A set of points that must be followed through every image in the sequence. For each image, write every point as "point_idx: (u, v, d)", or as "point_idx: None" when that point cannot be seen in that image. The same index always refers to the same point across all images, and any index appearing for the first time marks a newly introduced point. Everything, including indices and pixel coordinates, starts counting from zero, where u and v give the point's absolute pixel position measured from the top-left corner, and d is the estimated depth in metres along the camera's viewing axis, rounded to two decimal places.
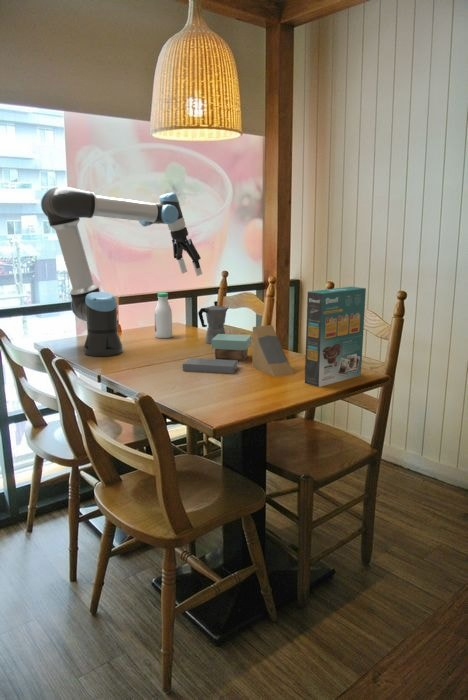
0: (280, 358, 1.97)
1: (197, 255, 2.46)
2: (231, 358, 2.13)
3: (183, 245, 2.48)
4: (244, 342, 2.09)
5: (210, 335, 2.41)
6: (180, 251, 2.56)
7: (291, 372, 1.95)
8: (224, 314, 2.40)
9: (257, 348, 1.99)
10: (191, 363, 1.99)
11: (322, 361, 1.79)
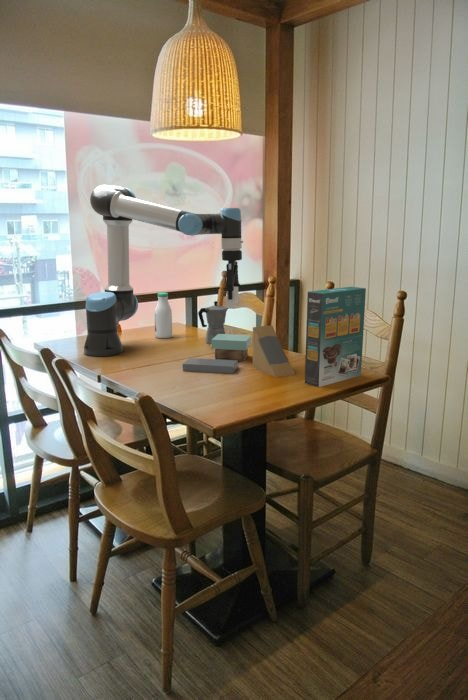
0: (281, 358, 1.96)
1: (230, 284, 2.06)
2: (231, 358, 2.13)
3: None
4: (244, 342, 2.09)
5: (210, 335, 2.41)
6: (234, 277, 2.19)
7: (292, 372, 1.95)
8: (224, 314, 2.40)
9: (258, 348, 1.99)
10: (191, 363, 1.99)
11: (322, 361, 1.79)
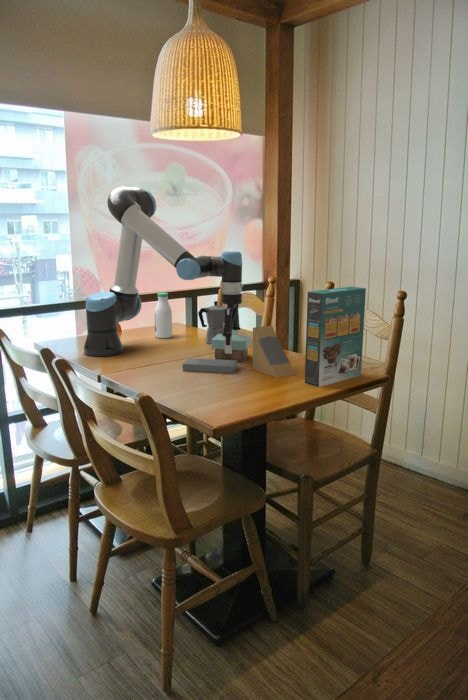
0: (282, 358, 1.96)
1: (227, 330, 2.06)
2: (231, 358, 2.13)
3: None
4: (244, 342, 2.09)
5: (210, 335, 2.41)
6: (234, 320, 2.18)
7: (293, 373, 1.94)
8: (224, 314, 2.40)
9: (258, 349, 1.98)
10: (191, 363, 1.99)
11: (322, 361, 1.79)
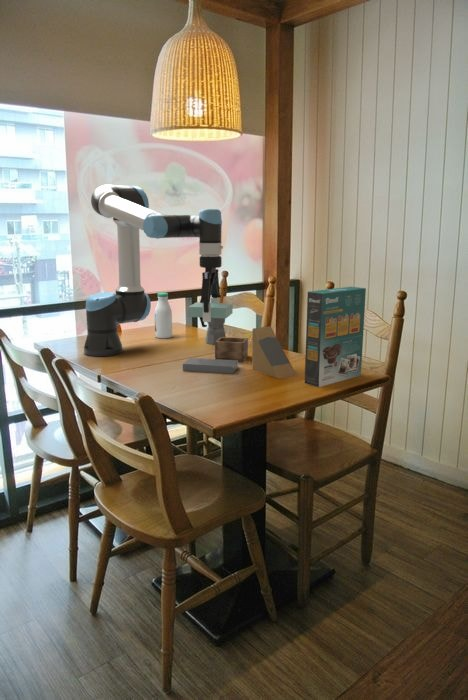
0: (282, 359, 1.95)
1: (205, 296, 1.87)
2: (231, 358, 2.13)
3: None
4: (224, 309, 1.90)
5: (210, 335, 2.41)
6: (213, 286, 1.98)
7: (294, 373, 1.93)
8: None
9: (258, 350, 1.96)
10: (191, 363, 1.99)
11: (322, 361, 1.79)
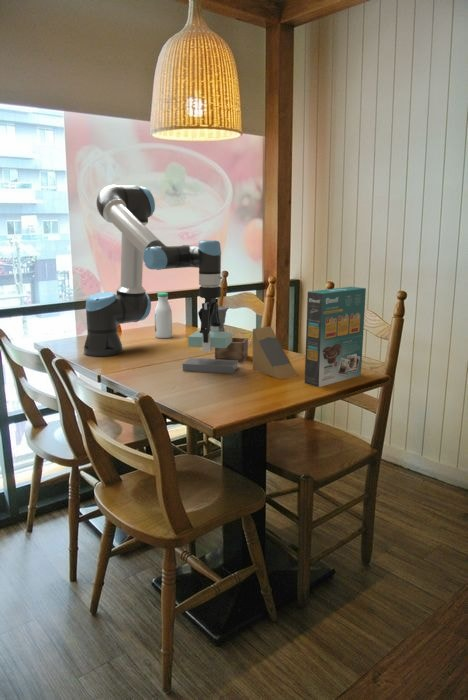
0: (283, 359, 1.95)
1: (205, 326, 1.89)
2: (231, 358, 2.13)
3: None
4: (223, 339, 1.92)
5: None
6: (213, 315, 2.00)
7: (295, 373, 1.93)
8: (224, 314, 2.40)
9: (259, 350, 1.96)
10: (191, 363, 1.99)
11: (322, 361, 1.79)
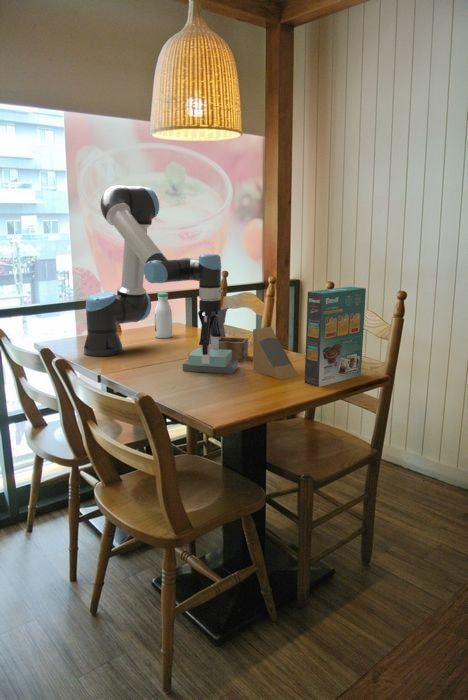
0: (284, 360, 1.94)
1: (204, 338, 1.89)
2: None
3: None
4: (223, 358, 1.93)
5: (210, 335, 2.41)
6: (213, 327, 2.02)
7: (295, 374, 1.93)
8: (224, 314, 2.40)
9: (259, 351, 1.95)
10: None
11: (322, 361, 1.79)
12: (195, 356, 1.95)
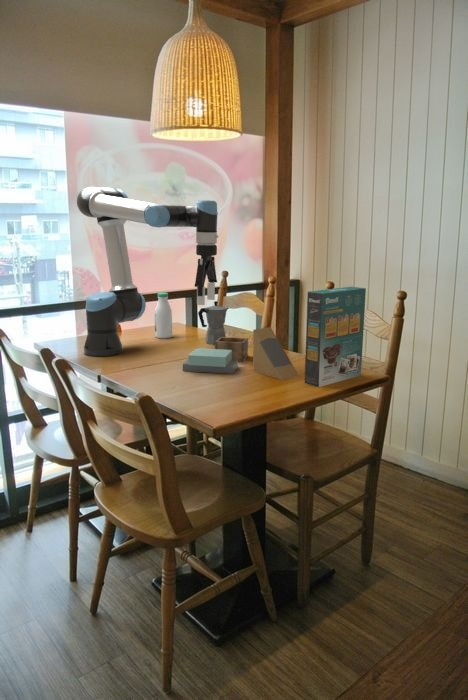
0: (284, 360, 1.94)
1: (199, 280, 1.98)
2: None
3: (201, 264, 2.04)
4: (223, 358, 1.93)
5: (210, 335, 2.41)
6: (209, 272, 2.11)
7: (296, 374, 1.92)
8: (224, 314, 2.40)
9: (260, 351, 1.95)
10: None
11: (322, 361, 1.79)
12: (195, 356, 1.95)
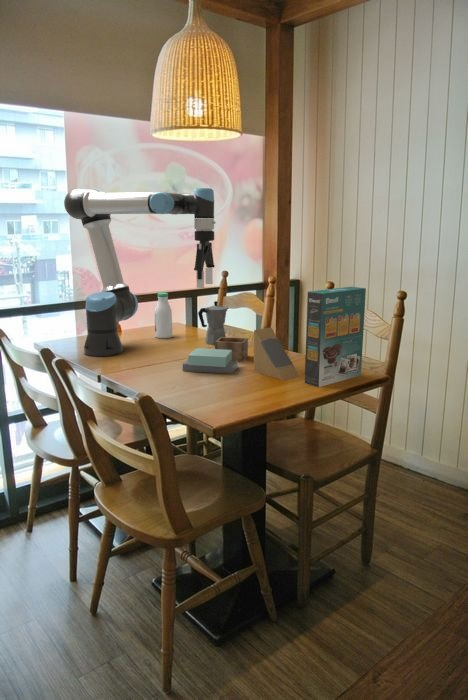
0: (285, 360, 1.93)
1: (199, 264, 2.08)
2: None
3: None
4: (223, 358, 1.93)
5: (210, 335, 2.41)
6: (207, 257, 2.21)
7: (297, 374, 1.92)
8: (224, 314, 2.40)
9: (260, 351, 1.94)
10: None
11: (322, 361, 1.79)
12: (195, 356, 1.95)
